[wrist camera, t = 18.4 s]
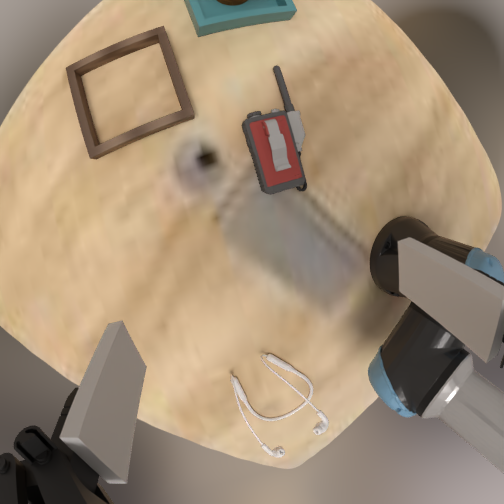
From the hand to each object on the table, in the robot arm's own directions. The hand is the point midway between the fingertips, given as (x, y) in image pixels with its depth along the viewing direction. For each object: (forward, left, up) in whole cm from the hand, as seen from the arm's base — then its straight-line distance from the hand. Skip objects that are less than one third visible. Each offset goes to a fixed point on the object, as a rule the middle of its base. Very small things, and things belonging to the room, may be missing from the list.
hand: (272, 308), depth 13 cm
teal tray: (-14, -35, -32) cm, 49 cm away
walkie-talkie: (-12, -9, -33) cm, 36 cm away
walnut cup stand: (+6, -22, -32) cm, 39 cm away
